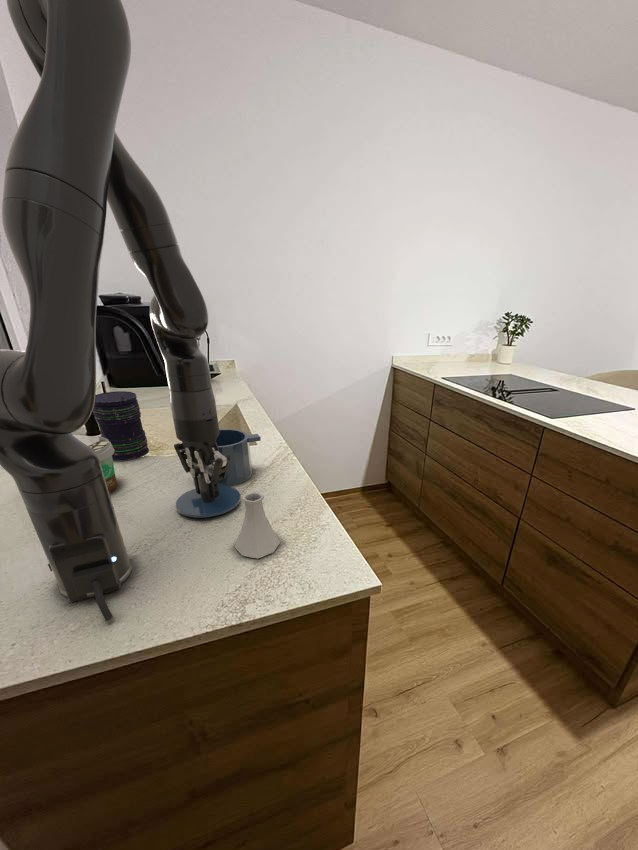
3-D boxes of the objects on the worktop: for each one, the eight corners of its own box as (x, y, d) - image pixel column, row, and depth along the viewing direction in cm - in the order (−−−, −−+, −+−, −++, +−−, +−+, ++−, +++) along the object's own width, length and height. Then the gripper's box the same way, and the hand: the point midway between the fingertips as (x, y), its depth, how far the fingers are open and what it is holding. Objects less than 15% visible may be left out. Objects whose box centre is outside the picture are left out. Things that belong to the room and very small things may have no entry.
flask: (257, 564, 63) (252, 513, 58) (227, 549, 66) (220, 499, 62) (287, 543, 69) (284, 494, 64) (258, 529, 72) (253, 482, 67)
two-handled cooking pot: (268, 478, 90) (265, 440, 86) (192, 493, 83) (184, 452, 79) (255, 460, 99) (252, 424, 95) (185, 472, 92) (178, 434, 87)
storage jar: (96, 456, 97) (79, 398, 90) (130, 443, 105) (116, 389, 99) (125, 464, 94) (109, 404, 87) (158, 450, 102) (145, 394, 96)
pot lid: (247, 511, 77) (244, 482, 74) (180, 526, 71) (173, 495, 68) (233, 485, 86) (230, 458, 83) (173, 496, 81) (167, 468, 78)
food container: (92, 507, 76) (77, 461, 72) (65, 503, 77) (49, 458, 73) (136, 480, 87) (125, 438, 82) (112, 476, 88) (100, 435, 83)
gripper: (152, 409, 70) (169, 492, 78) (203, 425, 64) (216, 513, 72) (187, 401, 76) (200, 479, 84) (237, 414, 70) (246, 497, 78)
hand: (208, 494), depth 78 cm, fingers closed on pot lid, 3 cm apart
